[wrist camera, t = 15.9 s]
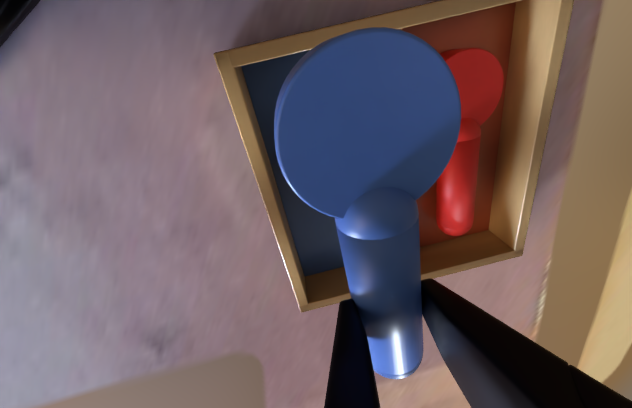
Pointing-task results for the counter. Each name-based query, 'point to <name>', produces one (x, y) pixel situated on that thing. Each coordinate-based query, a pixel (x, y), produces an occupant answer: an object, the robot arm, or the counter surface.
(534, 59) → the cutlery tray
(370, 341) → the blue spoon
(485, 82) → the red spoon
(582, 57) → the counter surface
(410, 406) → the counter surface
